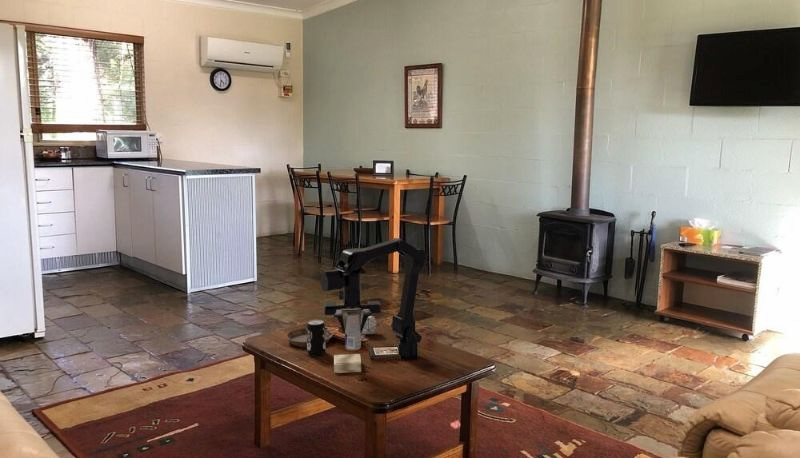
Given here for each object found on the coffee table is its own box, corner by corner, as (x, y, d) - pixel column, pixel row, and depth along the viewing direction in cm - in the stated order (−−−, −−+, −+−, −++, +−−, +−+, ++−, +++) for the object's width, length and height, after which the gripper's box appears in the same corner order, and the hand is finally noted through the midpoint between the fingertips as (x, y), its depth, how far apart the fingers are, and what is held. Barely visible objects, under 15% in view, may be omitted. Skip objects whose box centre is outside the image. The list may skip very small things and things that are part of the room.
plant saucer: (312, 331, 255) (311, 324, 254) (342, 340, 243) (342, 333, 243) (277, 342, 241) (276, 335, 241) (307, 353, 230) (307, 345, 230)
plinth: (360, 362, 220) (359, 353, 219) (361, 371, 211) (360, 362, 211) (334, 363, 219) (334, 354, 219) (334, 373, 210) (334, 364, 210)
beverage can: (322, 357, 225) (321, 325, 223) (304, 356, 226) (303, 324, 224) (327, 351, 231) (327, 319, 229) (311, 349, 233) (310, 318, 231)
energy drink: (352, 344, 216) (351, 310, 214) (364, 347, 213) (363, 313, 211) (341, 348, 212) (341, 313, 210) (353, 351, 208) (353, 316, 206)
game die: (371, 342, 252) (384, 320, 254) (371, 341, 243) (384, 319, 245) (352, 330, 252) (365, 309, 254) (352, 329, 244) (365, 307, 246)
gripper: (377, 280, 218) (377, 324, 220) (323, 282, 216) (324, 326, 218) (380, 288, 207) (381, 334, 210) (323, 290, 205) (324, 336, 207)
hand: (352, 332), depth 211 cm, fingers closed on energy drink, 5 cm apart
